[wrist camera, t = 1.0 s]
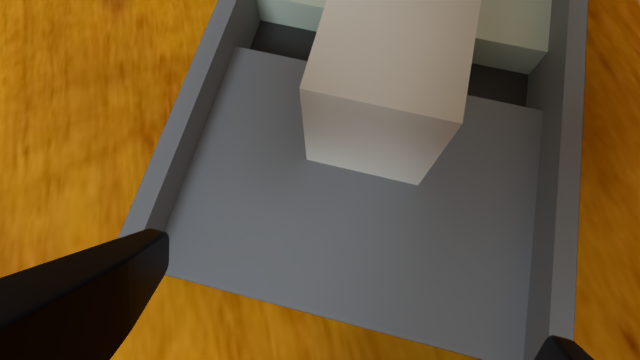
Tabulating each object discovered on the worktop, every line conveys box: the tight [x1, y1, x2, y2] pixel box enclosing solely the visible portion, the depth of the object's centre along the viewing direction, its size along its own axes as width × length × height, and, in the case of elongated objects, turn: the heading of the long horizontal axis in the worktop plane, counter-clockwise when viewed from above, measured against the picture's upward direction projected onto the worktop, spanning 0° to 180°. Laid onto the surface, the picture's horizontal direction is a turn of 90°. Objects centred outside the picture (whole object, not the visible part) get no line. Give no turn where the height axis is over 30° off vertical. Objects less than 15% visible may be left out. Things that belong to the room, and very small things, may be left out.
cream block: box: [299, 0, 481, 185], centre depth 19 cm, size 6×6×7 cm
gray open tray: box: [118, 0, 588, 360], centre depth 23 cm, size 26×20×5 cm
